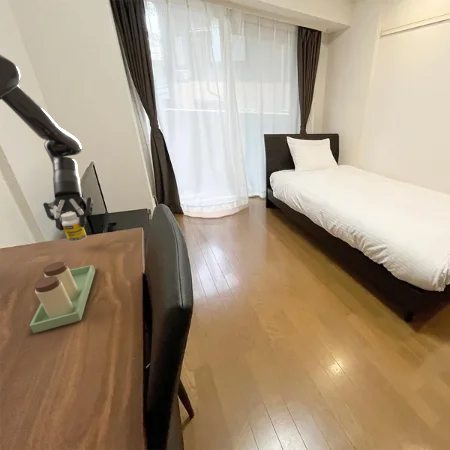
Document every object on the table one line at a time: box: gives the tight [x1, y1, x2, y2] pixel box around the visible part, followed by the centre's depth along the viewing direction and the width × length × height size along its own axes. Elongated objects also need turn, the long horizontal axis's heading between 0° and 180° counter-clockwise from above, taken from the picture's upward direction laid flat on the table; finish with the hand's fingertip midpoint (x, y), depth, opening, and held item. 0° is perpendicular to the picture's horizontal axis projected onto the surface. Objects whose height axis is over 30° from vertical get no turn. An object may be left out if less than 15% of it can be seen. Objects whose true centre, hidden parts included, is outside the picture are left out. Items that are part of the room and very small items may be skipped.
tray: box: [29, 264, 96, 334], centre depth 75 cm, size 23×9×2 cm, turn 27°
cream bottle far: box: [33, 276, 74, 319], centre depth 67 cm, size 5×5×10 cm
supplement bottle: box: [61, 211, 88, 243], centre depth 95 cm, size 5×5×10 cm
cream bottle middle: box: [42, 261, 80, 300], centre depth 73 cm, size 5×5×10 cm
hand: (71, 227), depth 94 cm, fingers closed on supplement bottle, 5 cm apart
